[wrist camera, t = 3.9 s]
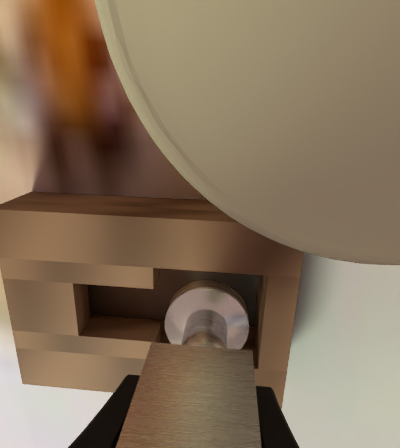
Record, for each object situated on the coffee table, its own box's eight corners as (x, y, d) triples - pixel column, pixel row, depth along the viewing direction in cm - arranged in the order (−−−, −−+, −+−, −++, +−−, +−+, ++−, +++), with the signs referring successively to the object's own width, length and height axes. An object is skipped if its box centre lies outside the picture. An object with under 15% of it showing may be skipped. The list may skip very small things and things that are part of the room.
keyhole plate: (293, 204, 17) (307, 226, 14) (273, 362, 20) (281, 408, 17) (31, 191, 18) (-11, 209, 15) (53, 343, 21) (22, 383, 18)
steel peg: (250, 282, 16) (278, 510, 7) (244, 351, 17) (261, 617, 8) (168, 277, 16) (89, 488, 7) (168, 344, 17) (102, 595, 8)
